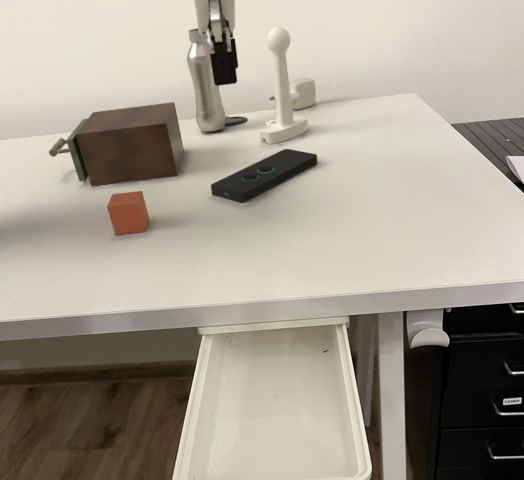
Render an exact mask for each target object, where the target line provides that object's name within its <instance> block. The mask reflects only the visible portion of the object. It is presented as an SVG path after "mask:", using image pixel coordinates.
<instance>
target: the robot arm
mask: <svg viewBox="0 0 524 480" xmlns="http://www.w3.org/2000/svg"><path fill="white" fill-rule="evenodd" d="M194 5H195V6H194V7H195V14H196V15H195V16H196V23H197V28H198V31H199V34H200V35H201V36H205V33H206V32H207V33H208V39H209V44H210V50H211V53H210V58H211V65H212V71H213V78H214V84H215V85H216V86H219V87H220V86H226V85H227V86H228V85H235V84H237V82H238V76H237V69H238V68H239V61H238V51H237V44H236V38H234V30H235V28H236V0H194Z"/></svg>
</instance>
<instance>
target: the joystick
mask: <svg viewBox="0 0 524 480" xmlns="http://www.w3.org/2000/svg"><path fill="white" fill-rule="evenodd" d="M266 44H267V48H268V49H269V51H271V53H272V56H273V69H274V91H275V92H274V93H275V96H276V99H275V100H276V101H275V115H276V116H275V117H276V119H270V120H268V121H266V122H265V123H264V126H265V128H261V129H259V130H258V134H259V140H261V141H265V143H266V144H268V145H274V144H277V143H281V142H285V141H288V140H291V139H293V138H295V137H298V136H300V135H302V134H303V133H305V132H307V131H308V130H309V120H308V117H305V116H299V115H294V111H293V108H292V103H291V95H290V87H289V82H290V80H289V71H288V63H287V51H288V49H289V47H290V45H291V36H290V33H289V31H288V30H287V29H286V28H284V27H283V26H276V27H273V28H272V29H270V31H268V34H267V37H266Z"/></svg>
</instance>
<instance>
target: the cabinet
mask: <svg viewBox="0 0 524 480" xmlns="http://www.w3.org/2000/svg"><path fill="white" fill-rule="evenodd" d="M86 119H87V121H86V122H85V123H84V124H83V126H82V127H81V128H80V130H79V131H78V132H77V133H76V138H77V141H78V144H79V147H80V150H81V154H82V157H83V160H84V163H85V166H86V170H87V173H88V179H89V182H90V185H91V186H90V187H94V186H103V185H109V184H110V185H112V184H119V183H127V182H135V181H145V180H152V179H161V178H168V177H177V176H178V175H179V171H180V168H181V163H182V160H183V155H184V153H185V152H184V151H185V148H184V144H183V139H182V134H181V129H180V123H179V119H178V114H177V108H176V102H175V101H172V102H164V103H156V104H147V105H140V106H132V107H124V108H116V109H109V110H101V111H93V112H92V113H91V114H90V115H89V117H88V118H86Z"/></svg>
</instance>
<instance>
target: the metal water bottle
mask: <svg viewBox="0 0 524 480" xmlns="http://www.w3.org/2000/svg"><path fill="white" fill-rule="evenodd" d="M188 37H189V38H188V39H189V42H191V44H190V47H189V48H188V52H187V55H186V63H187V68H188V71H189V74H190V78H191V81H192V86H193V89H194V96H195V98H194V99H195V108H196V110H195V120H196V124H197V127H198V128H199V129H200V131H202V132H216V131H219V130H222V129H224V128H225V126H226V123H227V115H226V112H225V109H224V106H223V102H222V97H221V92H220V85H219V86H216V85H215V84H214V78H213V71H212V65H211V58H210V53H211V50H210V42H209V41H208V39H209V35H208V31H207V32H206V33H205V36H201V35H200V34H199V31H198V27H197V28H191V29H189V30H188Z"/></svg>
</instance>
